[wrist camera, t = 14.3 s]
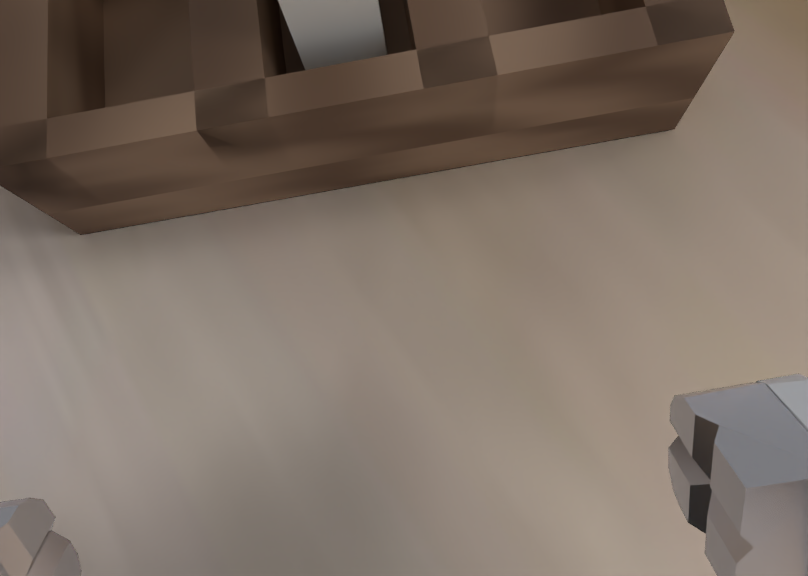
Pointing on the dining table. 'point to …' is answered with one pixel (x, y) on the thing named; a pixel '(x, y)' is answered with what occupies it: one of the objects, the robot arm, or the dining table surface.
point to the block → (335, 30)
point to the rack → (320, 96)
